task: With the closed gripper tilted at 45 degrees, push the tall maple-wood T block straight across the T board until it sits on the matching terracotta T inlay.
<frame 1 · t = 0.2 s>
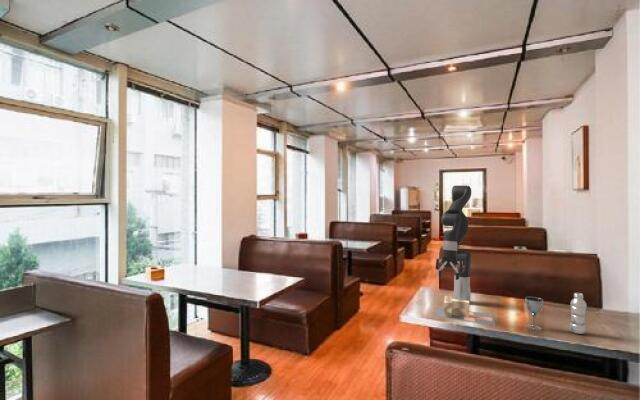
hand: (448, 278, 184), 22 cm above the table, tool pointing down, fingers open, 8 cm apart
wine glass: (533, 327, 174), on the table
maple T block: (447, 313, 190), point 1 cm above the table, touching T board
plastic bottle: (577, 333, 167), on the table
T board: (464, 317, 187), on the table
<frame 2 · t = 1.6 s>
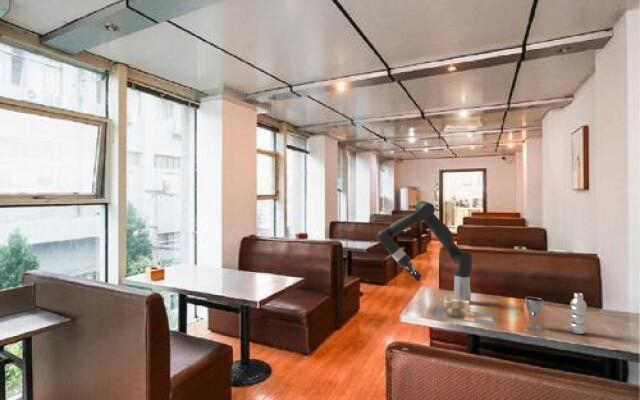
hand: (420, 278, 196), 19 cm above the table, tool tilted 45°, fingers open, 8 cm apart
nothing on the table moved.
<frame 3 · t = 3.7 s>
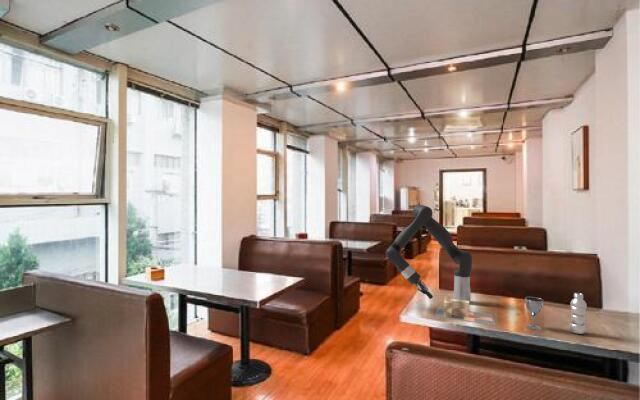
hand: (431, 297, 194), 9 cm above the table, tool tilted 45°, fingers closed
nothing on the table moved.
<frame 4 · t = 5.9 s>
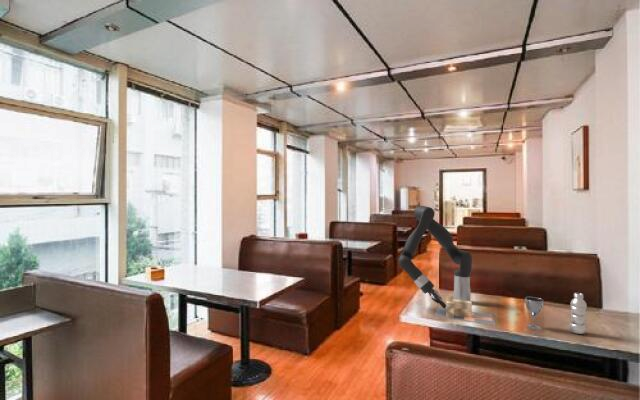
hand: (445, 307, 191), 4 cm above the table, tool tilted 45°, fingers closed
maple T block: (450, 313, 190), point 1 cm above the table, touching T board
everything else where it was.
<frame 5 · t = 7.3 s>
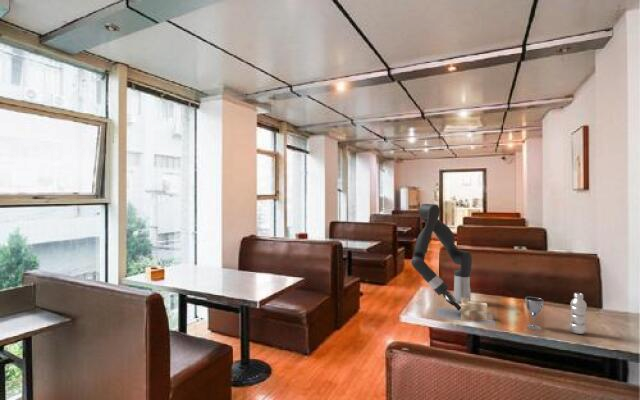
hand: (460, 309, 188), 4 cm above the table, tool tilted 45°, fingers closed
maple T block: (464, 315, 187), point 1 cm above the table, touching gripper
everything else where it was.
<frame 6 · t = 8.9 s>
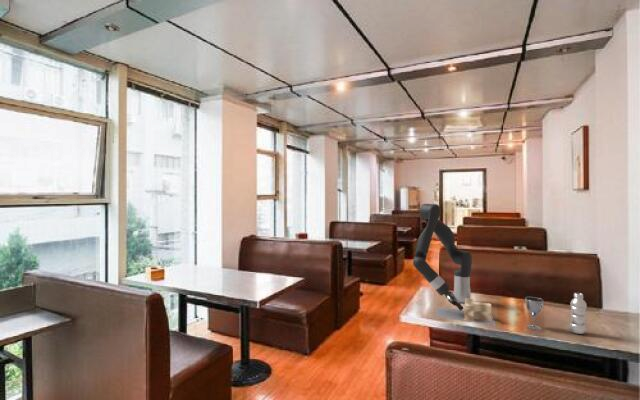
hand: (462, 309, 187), 4 cm above the table, tool tilted 45°, fingers closed
maple T block: (468, 316, 186), point 1 cm above the table, touching T board
everything else where it was.
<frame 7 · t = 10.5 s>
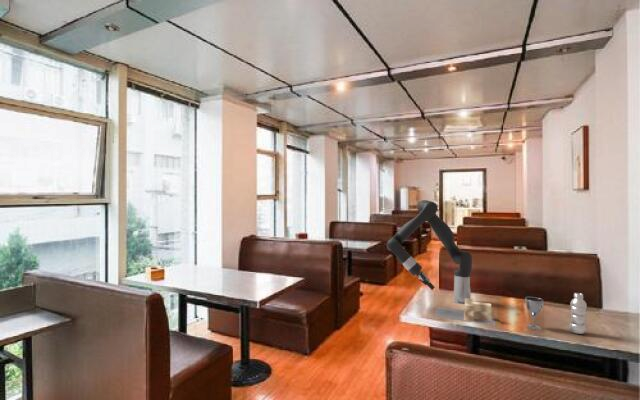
hand: (433, 288, 193), 14 cm above the table, tool tilted 45°, fingers closed
nothing on the table moved.
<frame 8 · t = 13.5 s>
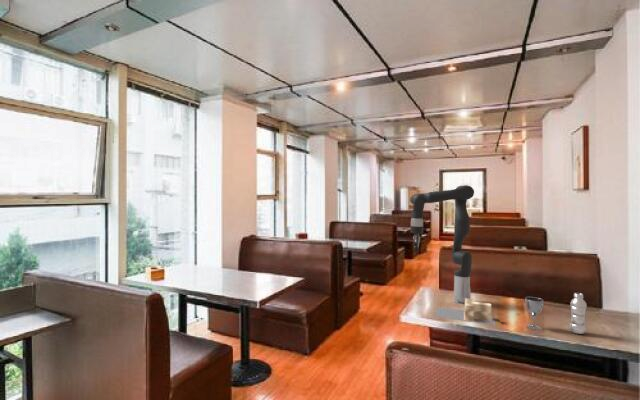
hand: (416, 252, 211), 32 cm above the table, tool pointing down, fingers closed
nothing on the table moved.
at the end: maple T block 0.2 cm from the target spot, point 1.0 cm above the table; maple T block tilted 0°; the gripper is holding nothing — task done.
